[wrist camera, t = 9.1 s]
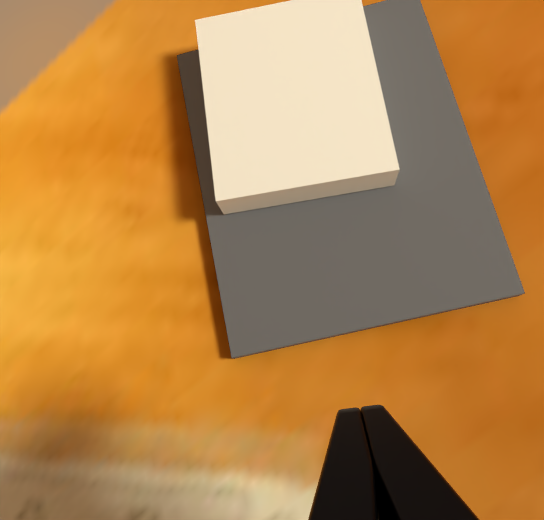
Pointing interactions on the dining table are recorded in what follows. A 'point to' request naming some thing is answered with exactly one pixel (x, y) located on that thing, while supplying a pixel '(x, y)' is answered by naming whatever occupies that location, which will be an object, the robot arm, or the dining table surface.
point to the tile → (293, 104)
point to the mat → (363, 216)
